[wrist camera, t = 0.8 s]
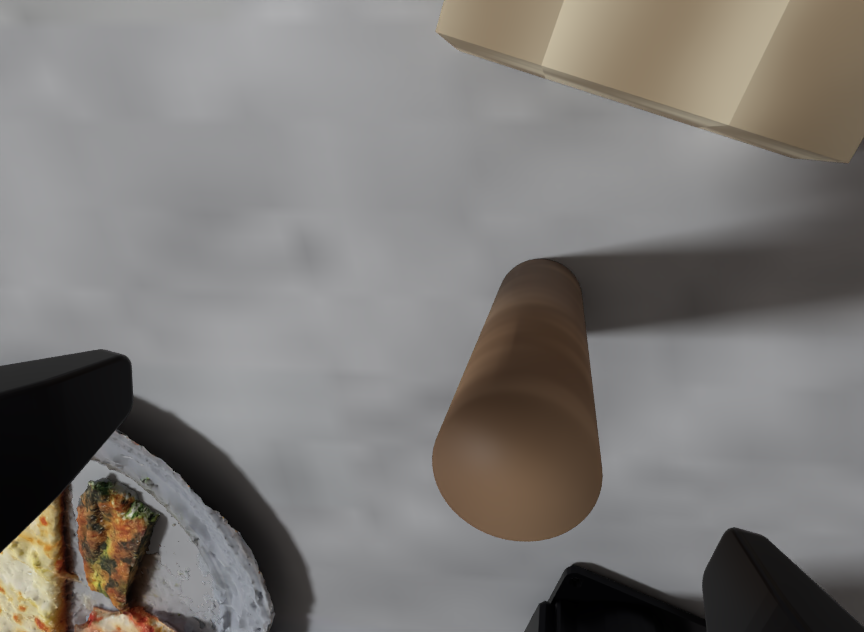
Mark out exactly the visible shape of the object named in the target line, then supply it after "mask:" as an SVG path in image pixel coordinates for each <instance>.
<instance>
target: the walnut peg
mask: <svg viewBox="0 0 864 632" xmlns="http://www.w3.org/2000/svg"><path fill="white" fill-rule="evenodd" d="M432 466H433V473H434V477H435V480H436V484H437V486H438V488H439V490H440V493H441V494H442V496H443V498H444V499H445V501H446V502H447V504H448V505H449V506H450V507H451V508H452V510H453V511H454V512H455V513H456V514H457V515H458V516H459V517H461V518H462V519H463V520H465V521H466V522H467V523H468V524H470V525H472V526H473V527H475V528H476V529H478V530H480V531H483V532H485V533H487V534H489V535H492V536H495V537H498V538H502V539H506V540H513V541H540V540H545V539H550V538H553V537H556V536H559V535H561V534H563V533H566V532H568V531H569V530H571V529H572V528H574V527H576V526H577V525H578V524H579V523H581V522H582V521H583V520H584V519H585V518H586V517H587V516H588V514H589V513H590V512H591V510H592V509H593V507H594V506H595V504H596V502H597V500H598V497H599V495H600V491H601V487H602V477H603V476H602V463H601V455H600V446H599V438H598V429H597V420H596V412H595V403H594V394H593V386H592V377H591V368H590V360H589V351H588V342H587V334H586V325H585V316H584V308H583V299H582V292H581V287H580V285H579V282H578V280H577V279H576V277H575V276H574V274H573V273H572V272H571V271H570V270H569V269H568V268H566V267H565V266H563V265H562V264H560V263H558V262H555V261H552V260H547V259H533V260H528V261H525V262H523V263H521V264H519V265H517V266H516V267H514V268H513V269H512V270H511V271H510V272H509V273H508V274H507V275H506V276H505V278H504V280H503V282H502V284H501V286H500V289H499V291H498V293H497V296H496V298H495V300H494V303H493V305H492V308H491V310H490V312H489V315H488V317H487V319H486V322H485V324H484V327H483V329H482V331H481V334H480V336H479V338H478V341H477V343H476V346H475V348H474V350H473V353H472V355H471V357H470V360H469V362H468V365H467V367H466V369H465V372H464V374H463V376H462V379H461V381H460V384H459V386H458V388H457V391H456V393H455V395H454V398H453V400H452V403H451V405H450V407H449V410H448V412H447V414H446V417H445V419H444V422H443V424H442V426H441V429H440V431H439V433H438V436H437V438H436V441H435V445H434V448H433V456H432Z"/></svg>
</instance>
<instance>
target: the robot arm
mask: <svg viewBox="0 0 864 632" xmlns="http://www.w3.org/2000/svg"><path fill="white" fill-rule="evenodd" d="M132 405H133V383H132V365H131V362H130V360H129V358H128V357H127V356H125V355H122V354H119V353H115V352H112V351H108V350H103V349H100V350H93V351H87V352H81V353H75V354H69V355H63V356H57V357H51V358H45V359H39V360H33V361H27V362H21V363H15V364H9V365H3V366H0V553H1V552H2V551H3V550H4V549H5V548H6V547H7V546H8V545H9V544H10V543H11V542H12V541H13V540H14V539H16V538H17V537H18V536H19V535H20V534H21V533H22V532H23V531H24V530H25V529H26V528H27V527H28V526H29V525H30V524H31V523H32V522H33V521H34V520H35V519H36V518H37V517H38V516H39V515H40V514H41V513H42V512H43V511H44V510H45V509H46V508H47V507H48V506H49V505H50V504H51V503H52V502H53V501H54V500H55V499H56V498H57V497H58V496H59V495H60V494H61V493H62V492H63V491H64V490H65V488H66V487H67V486H68V485H69V484H70V483H71V482H72V481H73V480H74V478H75V477H76V476H77V475H78V474H79V473H80V471H81V470H82V469H83V468H84V467H85V465H86V464H87V463H88V462H89V461H90V460H91V458H92V457H93V456H94V455H95V454H96V453H97V451H98V450H99V449H100V448H101V447H102V446H103V444H104V443H105V442H106V441H107V440H108V439H109V437H110V436H111V435H112V434H113V433H114V432H115V430H116V429H117V428H118V427H119V426H120V425H121V423H122V422H123V421H124V420H125V419H126V417H127V416H128V414H129V413H130V411H131V408H132ZM572 578H579V579H580V580H573V579H572ZM702 589H703V599H704V609H705V618H706V620H705V619H702V618H700V617H697V616H695V615H693V614H690V613H688V612H686V611H683V610H681V609H678V608H676V607H674V606H671V605H669V604H667V603H664V602H662V601H660V600H657V599H655V598H652V597H650V596H648V595H645V594H643V593H641V592H638V591H636V590H633V589H631V588H629V587H626V586H624V585H622V584H619V583H617V582H614V581H612V580H610V579H607V578H605V577H603V576H600V575H598V574H595V573H593V572H591V571H588V570H586V569H584V568H581V567H578V566H570V567H568V568H566V569H565V570H564V572H563V574H562V576H561V578H560V580H559V581H558V583H557V585H556V587H555V589H554V591H553V593H552V595H551V596H550V598H549V600H548V602H547V601H543V602H542V603H540V604H539V605H538V607H537V609H536V611H535V613H534V614H533V616H532V618H531V620H530V622H529V624H528V626H527V628H526V629H525V631H524V632H864V627H863V626H862V625H861V624H860V623H859V622H858V621H857V620H855V619H854V618H853V617H852V616H851V615H850V614H849V613H848V612H847V611H846V610H845V609H843V608H842V607H841V606H840V605H839V604H838V603H837V602H836V601H835V600H834V599H833V598H831V597H830V596H829V595H828V594H827V593H826V592H825V591H824V590H823V589H822V588H821V587H819V586H818V585H817V584H816V583H815V582H814V581H813V580H812V579H811V578H810V577H809V576H807V575H806V574H805V573H804V572H803V571H802V570H801V569H800V568H799V567H798V566H797V565H795V564H794V563H793V562H792V561H791V560H790V559H789V558H788V557H787V556H786V555H785V554H783V553H782V552H781V551H780V550H779V549H778V548H777V547H776V546H775V545H774V544H773V543H771V542H770V541H769V540H768V539H767V538H766V537H764V536H762V535H760V534H757V533H753V532H750V531H746V530H743V529H739V528H735V527H733V528H730V529H728V530H727V531H726V532H725V533H724V534H723V536H722V538H721V540H720V542H719V544H718V546H717V547H716V549H715V551H714V553H713V555H712V557H711V559H710V561H709V563H708V565H707V567H706V569H705V571H704V575H703V582H702Z"/></svg>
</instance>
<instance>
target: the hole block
mask: <svg viewBox="0 0 864 632" xmlns="http://www.w3.org/2000/svg"><path fill="white" fill-rule="evenodd" d="M436 33H438V34H439V35H440V36H441V37H443V38H444V39H445V40H446V41H448V42H449V43H450V44H451V45H452V46H454V47H455V48H456V49H457V50H459V51H461V52H464V53H467V54H471V55H474V56H477V57H480V58H483V59H486V60H489V61H492V62H495V63H499V64H502V65H505V66H508V67H511V68H514V69H517V70H520V71H523V72H527V73H530V74H533V75H536V76H539V77H542V78H545V79H548V80H551V81H555V82H558V83H561V84H564V85H567V86H570V87H573V88H576V89H579V90H583V91H586V92H589V93H592V94H595V95H598V96H601V97H604V98H607V99H611V100H614V101H617V102H620V103H623V104H626V105H629V106H632V107H635V108H639V109H642V110H645V111H648V112H651V113H654V114H657V115H660V116H663V117H667V118H670V119H673V120H676V121H679V122H682V123H685V124H688V125H691V126H695V127H698V128H701V129H704V130H707V131H710V132H713V133H716V134H719V135H723V136H726V137H729V138H732V139H735V140H738V141H741V142H744V143H747V144H751V145H754V146H757V147H760V148H763V149H766V150H769V151H772V152H775V153H779V154H782V155H785V156H788V157H791V158H796V159H807V160H818V161H828V162H839V163H849V162H850V160H851V158H852V157H853V155H854V153H855V151H856V150H857V148H858V146H859V145H860V143H861V141H862V139H863V138H864V0H444V3H443V6H442V10H441V14H440V17H439V21H438V24H437V28H436Z"/></svg>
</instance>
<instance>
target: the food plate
mask: <svg viewBox="0 0 864 632" xmlns="http://www.w3.org/2000/svg"><path fill="white" fill-rule="evenodd" d="M118 431H119V430H117V429H116V430H115V432H114V433H113V434H112V435H111V436H110V437H109V439H108V440H107V441H106V442H105V443H104V444H103V446H102V447H101V448H100V449H99V450H98V451H97V453H96V454H95V455H94V456H93V457H92V458H91V460H93V461H96V462H98V463H99V464H102V465H105V466H107V467H108V469H109V470H115V471H117V472H120V473H123V474H125V475H126V476H127V477H130V478H131V479H133V480H134V481H135V482H137V483H138V485H140V486H141V487H142V488H143V489H144V490H145V491H147V492H148V493H150V494H151V495H152V496H153V497H154V498H156V500H157V501H158V502H159V503H160V504H162V505H163V506H164V507H165V508H166V509H167V511H168V512H169V513H170V514H171V515H172V516H171V517H174V518H175V519H176V520H177V521H178V524H180V526H181V527H182V528H183V529H184V530H185V532H186V533H187V534H188V535H189V536H190V539H189V540H188V539H187V541H190V542H192V543H194V544H195V545H196V546H197V547H198V550H199V552H200V554H198V555H197V561H198V562H200V564H199V565H198V568H200V569H201V573H202V576H204V577H207V576H208V572H209V573H210V575H211V577H212V583H213V584H212V585H211V589H212V593H213V597H210V596H209V595H207V596H206V595H204V596H203V598H204V601H205V603H208V600H209V599H210V598H211V599H210V601H211V602H212V605H211V607H208V612H200V611H199V613H198V612H196V613H195V612H193V611H191V610H190V605H191V604H192V602H193V601H192V599H191V598H189V597H182V596H180V594H181V593H182V589H181V581H182V580H189V579H188V578H189V576H190V575H189V573H188V572H189V571H190V569H189V568H188V567H187V568H185V570H186V571H181V570H178V571H177V574H178V575H177V576H176V577H175V576H174V575H172V574H171V572H170V570H169V569H168V568H167V565H166V564H165V565H162V564H161V563H160V562H161V560H160V559H161V556H160V555H159V554H158V553H157V552H156V553H154V554H147V553H146V551H149V549H148V546H149V544H150V537H151V535H152V532H153V527H154V525H155V522H156V520H157V519H158V518H159V516H160V513H158V512H152V511H151V510H150V509H149V507H148V506H145V505H144V504H143V503H141V502H140V501H139V499H138V497H137V493H136V492H135V491H133V490H131V489H129V488H128V487H127V486H125V485H123V484H122V483H120V482H119V481H116V482H115V483H112V482H111V481H110V480H108V479H106V478H101V479H99V480H97V481H91V480H90V481H89V482H88V484H89V485H88V486H87V487H88V488H87V489H86V491H85V492H84V493H83V494H82V495H81V496H80V497H81V498H79V504H78V507H77V511H78V517H77V519H76V520H77V522H78V525H79V526H78V527H77V526H76V523H75V522H76V520H75V515H74V513H73V508H72V506H73V504H72V503H71V502H70V501H72V498H73V495H72V491H69V489H68V488H69V485H68V486H67V487H66V488H65V490H64V491H63V492H62V493H61V494H60V495H59V496H58V497H57V498H56V499H55V500H54V501H53V502H52V503H51V504H50V505H49V506H48V507H47V508H46V509H45V510H44V511H43V512H42V513H41V514H40V515H39V516H38V517H37V518H36V519H35V520H34V521H33V522H32V523H31V524H30V525H29V526H28V527H27V528H26V529H25V530H24V531H23V532H22V533H21V534H20V535H19V536H18V537H17V538H16V539H14V540H13V541H12V542H11V543H10V544H9V545H8V546H7V547H6V548H5V549H4V550H3V551H2V552H1V553H0V632H266V631H267V627H268V625H269V624H270V625H269V629H268V632H269V630H270V628H271V625H272V623H273V619H274V616H275V613H274V609H273V604H272V602H271V600H270V599H271V597H270V594H269V592H268V591H267V586H265V579H263V576H262V572H260V571H259V569H258V568H259V567H258V563H257V560H255V559H254V555H253V554H252V550H251V549H250V548H249V546H248V545H247V544H246V543H245V541H244V540H243V538H242V536H241V534H240V533H239V531H238V532H237V531H236V530H235V529H233V528H231V527H230V524H229V525H228V521H227V520H226V519H224V517H223V516H221V515H220V513H221V512H220V513H219V511H214V510H212V509H211V508H210V507H208V506H206V505H205V504H204V503H203V502H202V500H201V497H198V495H197V494H195V493H194V492H193V490H192V489H191V490H190V487H189V485H187V483H186V482H184V481H183V480H184V479H182V478H181V477H180V474H178V473H176V472H175V471H173V469H172V468H171V467H169V466H168V464H167V465H166V462H164V461H163V460H162V459H160V458H158V457H156V456H153V455H152V454H150V453H149V452H148V451H147V450H146V449H145V448H144V446H141V445H139V444H137V443H136V442H135V441H132V440H131V439H129V438H128V435H127V436H124V435H123V434H124V433H123V432H121V431H119V432H121V433H123V434H119V433H118ZM125 435H126V434H125ZM67 501H68V502H67ZM172 526H175V524H172ZM75 533H77V534H78V535H77V536H75V535H74V534H75ZM178 542H179V541H178ZM159 547H161V545H159ZM164 547H165V546H164ZM173 554H175V553H173ZM156 559H157V560H156ZM176 564H178V563H176ZM196 565H197V564H196ZM179 567H180V566H179ZM141 571H142V572H143V574H142V572H141ZM181 574H183V575H184V576H185V578H183V577H181V576H179V575H181ZM165 581H166V582H167V583H166V582H165ZM205 583H209V584H210V583H211V582H210V581H207V582H204V581H202V584H203V585H205ZM87 585H88V587H87ZM206 593H207V592H206ZM181 600H183V601H184V602H185V604H182V603H181ZM215 601H216V602H218V604H219V606H220V608H219V615H218V616H216V615H215V614H214V613H213V611H212V610H213V609H214V608H216V606H215V604H214V602H215ZM203 605H204V604H203V603H201V606H202V607H203ZM197 606H198V608H199V605H197ZM203 608H204V607H203ZM87 615H89V618H88V621H86V616H87ZM194 616H198V617H199V619H200V621H202V622H203V623H204V624H205V625H206V626H205V627H204V628H200V622H199V621H197V620H196V619H195V618H193V617H194ZM203 617H207V618H206V619H204V618H203ZM217 617H220V620H221V622H220V624H219V623H218V622H217V621H218V620H219V619H218V618H217ZM211 619H214V620H215V622H214V624H215V625H216V628H215V629H213V628H212V627H211V626H212V625H213V623H212V621H211Z"/></svg>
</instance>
